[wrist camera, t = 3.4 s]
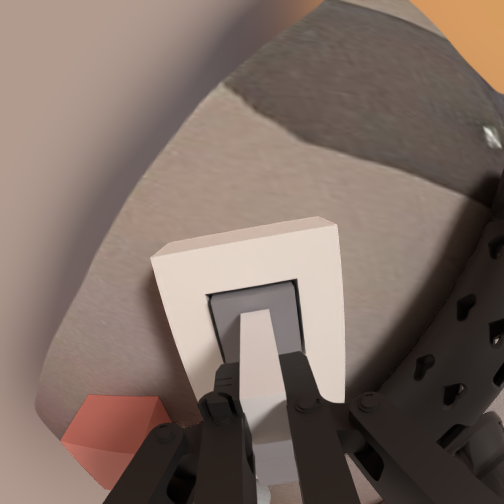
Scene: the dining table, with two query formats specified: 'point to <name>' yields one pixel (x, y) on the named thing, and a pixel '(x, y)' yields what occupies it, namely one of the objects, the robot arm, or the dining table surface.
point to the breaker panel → (252, 274)
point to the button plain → (275, 463)
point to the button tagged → (254, 299)
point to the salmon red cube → (111, 433)
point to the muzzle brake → (459, 346)
